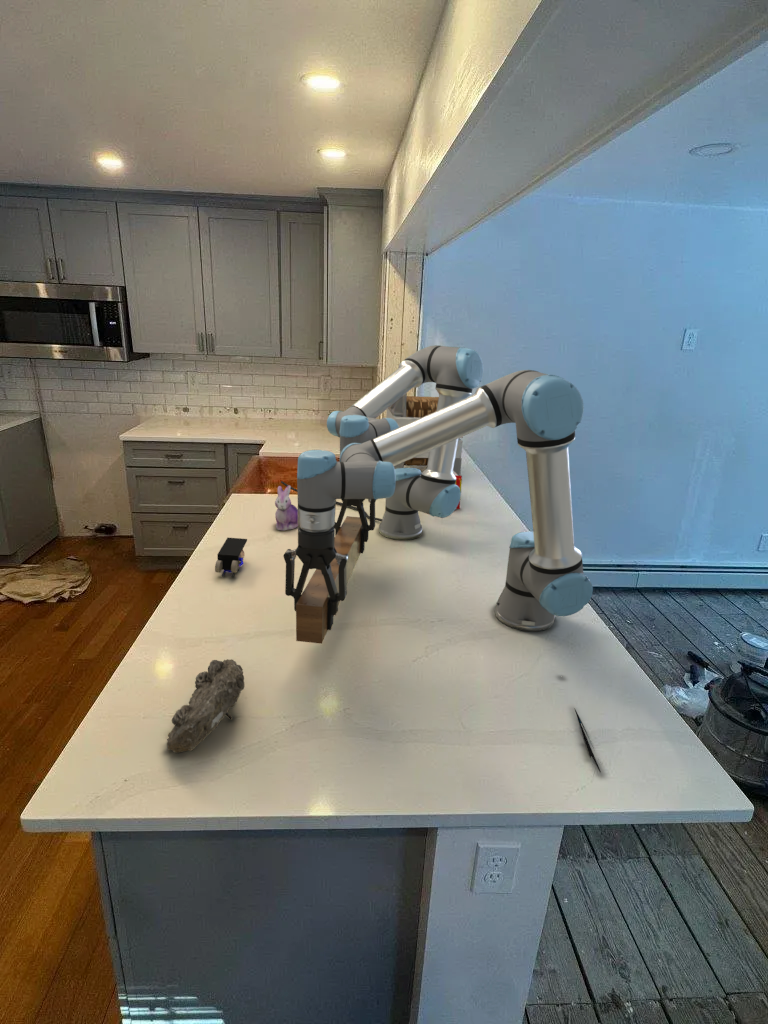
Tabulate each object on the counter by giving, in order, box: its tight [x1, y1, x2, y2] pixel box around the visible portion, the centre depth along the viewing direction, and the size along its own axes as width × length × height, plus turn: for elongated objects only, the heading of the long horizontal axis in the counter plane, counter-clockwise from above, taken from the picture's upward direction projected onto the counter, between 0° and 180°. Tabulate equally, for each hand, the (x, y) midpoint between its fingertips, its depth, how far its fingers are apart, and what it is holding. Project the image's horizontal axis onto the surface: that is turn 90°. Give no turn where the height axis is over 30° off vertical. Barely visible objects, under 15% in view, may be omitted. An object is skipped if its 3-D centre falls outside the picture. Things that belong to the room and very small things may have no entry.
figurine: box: [274, 484, 299, 531], centre depth 199 cm, size 9×10×15 cm
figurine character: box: [214, 537, 248, 578], centre depth 166 cm, size 7×8×15 cm
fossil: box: [166, 658, 245, 754], centre depth 106 cm, size 22×10×15 cm
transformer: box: [385, 392, 464, 476], centre depth 268 cm, size 34×33×41 cm
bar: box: [295, 515, 363, 645], centre depth 142 cm, size 54×6×9 cm, turn 173°
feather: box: [561, 676, 602, 773], centre depth 111 cm, size 2×28×2 cm
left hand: (351, 550), depth 163 cm, fingers closed on bar, 6 cm apart
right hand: (316, 625), depth 124 cm, fingers closed on bar, 5 cm apart
